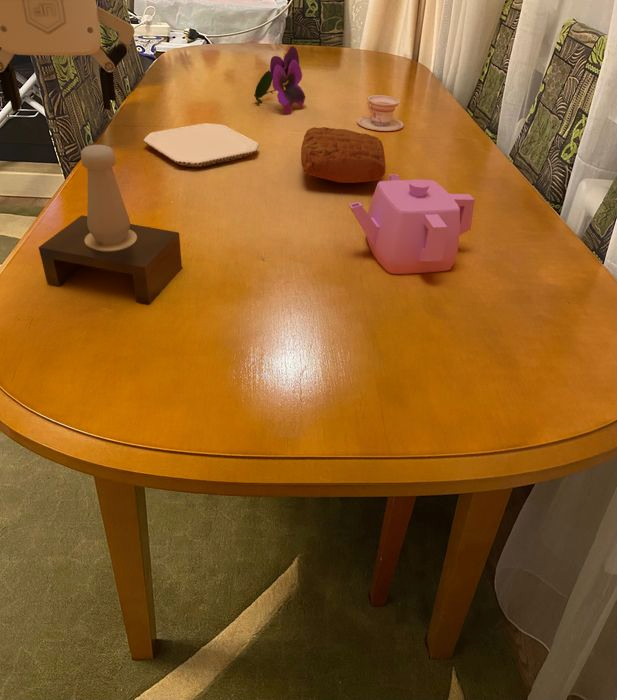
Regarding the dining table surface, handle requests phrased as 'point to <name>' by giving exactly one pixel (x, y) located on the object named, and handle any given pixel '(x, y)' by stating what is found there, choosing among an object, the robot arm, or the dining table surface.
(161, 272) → the shelf
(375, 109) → the teacup
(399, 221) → the teakettle
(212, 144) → the plate
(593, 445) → the dining table surface
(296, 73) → the flower
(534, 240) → the dining table surface
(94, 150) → the salt shaker
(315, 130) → the inscribed clay slab
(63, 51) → the robot arm
